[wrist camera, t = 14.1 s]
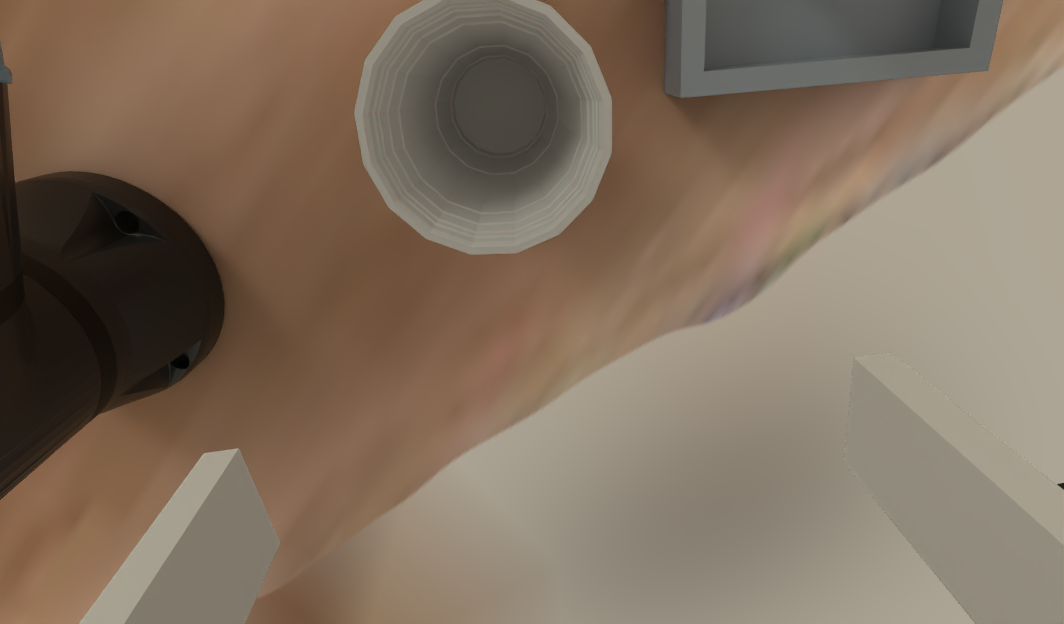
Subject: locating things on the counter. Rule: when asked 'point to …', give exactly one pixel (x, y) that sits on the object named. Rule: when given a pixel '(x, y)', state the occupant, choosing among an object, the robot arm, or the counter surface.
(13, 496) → the counter surface
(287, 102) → the counter surface
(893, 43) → the parts tray
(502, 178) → the plastic cup
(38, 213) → the robot arm
